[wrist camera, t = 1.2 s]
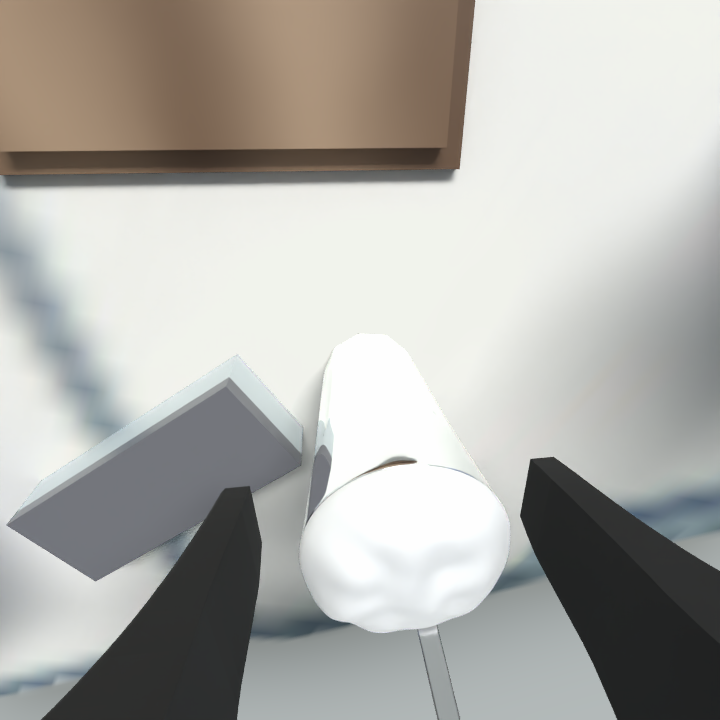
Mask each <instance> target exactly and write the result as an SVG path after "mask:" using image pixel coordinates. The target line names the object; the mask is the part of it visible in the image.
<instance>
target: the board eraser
mask: <svg viewBox="0 0 720 720" xmlns="http://www.w3.org/2000/svg"><path fill="white" fill-rule="evenodd" d="M302 435H303V427H302V425H301V424H300V423H299V422H298V421H297V420H296V419H295V418H294V416H293V415H292V414H291V413H290V412H289V411H288V410H287V409H286V408H285V406H284V405H283V404H282V403H281V402H280V401H279V400H278V399H277V397H276V396H275V395H274V394H273V393H272V392H271V391H270V390H269V389H268V387H267V386H266V385H265V384H264V383H263V382H262V381H261V380H260V378H259V377H258V376H257V375H256V374H255V373H254V372H253V371H252V370H251V368H250V367H249V366H248V365H247V364H246V363H245V362H244V361H243V359H242V358H241V357H240V356H239V355H238V354H237V355H235V356H233V357H232V358H230V359H229V360H227V361H226V362H224V363H223V364H221V365H219V366H218V367H216V368H215V369H213V370H212V371H210V372H209V373H207V374H206V375H204V376H202V377H201V378H199V379H198V380H196V381H195V382H193V383H192V384H190V385H189V386H187V387H185V388H184V389H182V390H181V391H179V392H178V393H176V394H175V395H173V396H171V397H170V398H168V399H167V400H165V401H164V402H162V403H161V404H159V405H158V406H156V407H154V408H153V409H151V410H150V411H148V412H147V413H145V414H144V415H142V416H141V417H139V418H137V419H136V420H134V421H133V422H131V423H130V424H128V425H127V426H125V427H123V428H122V429H120V430H119V431H117V432H116V433H114V434H113V435H111V436H110V437H108V438H106V439H105V440H103V441H102V442H100V443H99V444H97V445H96V446H94V447H93V448H91V449H89V450H88V451H86V452H85V453H83V454H82V455H80V456H79V457H77V458H76V459H74V460H72V461H71V462H69V463H68V464H66V465H65V466H63V467H62V468H60V469H58V470H57V471H55V472H54V473H52V474H51V475H49V476H48V477H46V478H45V479H43V480H41V482H40V483H39V484H38V486H37V487H36V488H35V489H34V491H33V492H32V493H31V494H30V496H29V497H28V498H27V500H26V501H25V502H24V503H23V505H22V506H21V507H20V508H19V510H18V511H17V512H16V514H15V515H14V516H13V517H12V519H11V520H10V521H9V522H8V524H7V526H8V527H10V528H12V529H13V530H15V531H16V532H18V533H20V534H21V535H23V536H24V537H26V538H28V539H29V540H31V541H32V542H34V543H35V544H37V545H39V546H40V547H42V548H43V549H45V550H47V551H48V552H50V553H51V554H53V555H54V556H56V557H58V558H59V559H61V560H62V561H64V562H66V563H67V564H69V565H70V566H72V567H74V568H75V569H77V570H78V571H80V572H81V573H83V574H85V575H86V576H88V577H89V578H91V579H93V580H94V581H97V580H99V579H101V578H103V577H104V576H106V575H108V574H110V573H111V572H113V571H115V570H117V569H119V568H120V567H122V566H124V565H126V564H127V563H129V562H131V561H133V560H134V559H136V558H138V557H140V556H141V555H143V554H145V553H147V552H149V551H150V550H152V549H154V548H156V547H157V546H159V545H161V544H163V543H164V542H166V541H168V540H170V539H172V538H173V537H175V536H177V535H179V534H180V533H182V532H184V531H186V530H187V529H189V528H191V527H193V526H195V525H196V524H198V523H200V522H202V521H203V520H205V518H206V517H207V515H208V514H209V512H210V510H211V509H212V507H213V505H214V504H215V502H216V500H217V499H218V497H219V495H220V494H221V492H222V491H223V490H224V489H225V488H233V487H244V486H250V489H251V493H253V492H255V491H256V490H258V489H260V488H262V487H263V486H265V485H267V484H269V483H270V482H272V481H274V480H276V479H278V478H279V477H281V476H283V475H285V474H286V473H288V472H290V471H292V470H293V469H295V468H297V467H299V466H301V456H302Z"/></svg>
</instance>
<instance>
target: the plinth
mask: <svg viewBox="0 0 720 720" xmlns="http://www.w3.org/2000/svg"><path fill="white" fill-rule="evenodd" d="M474 7H475V0H0V175H34V174H111V173H189V172H266V171H344V170H421V169H460V158H461V147H462V137H463V126H464V115H465V104H466V93H467V83H468V72H469V61H470V50H471V40H472V29H473V18H474Z"/></svg>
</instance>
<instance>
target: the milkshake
mask: <svg viewBox="0 0 720 720" xmlns="http://www.w3.org/2000/svg"><path fill="white" fill-rule="evenodd" d="M509 550H510V522H509V518H508V515H507V512H506V510H505V508H504V506H503V504H502V503H501V501H500V500H499V499H498V497H497V496H496V495H495V493H494V492H493V490H492V488H491V487H490V485H489V484H488V482H487V481H486V479H485V478H484V476H483V475H482V473H481V472H480V470H479V468H478V467H477V465H476V464H475V462H474V461H473V459H472V458H471V456H470V455H469V453H468V452H467V450H466V448H465V447H464V445H463V444H462V442H461V441H460V439H459V438H458V436H457V435H456V433H455V431H454V430H453V428H452V426H451V425H450V423H449V421H448V420H447V418H446V416H445V414H444V413H443V411H442V409H441V408H440V406H439V404H438V403H437V401H436V399H435V397H434V396H433V394H432V392H431V391H430V389H429V387H428V386H427V384H426V382H425V381H424V379H423V377H422V376H421V374H420V372H419V371H418V369H417V367H416V365H415V364H414V362H413V360H412V359H411V357H410V355H409V354H408V352H407V351H406V350H405V349H404V348H403V347H401V346H400V345H399V344H397V343H396V342H395V341H393V340H392V339H391V338H390V337H388V336H387V335H384V334H359V333H358V334H356V335H355V336H353V337H351V338H350V339H348V340H346V341H345V342H343V343H341V344H340V345H338V346H336V347H335V348H334V350H333V352H332V354H331V357H330V359H329V361H328V364H327V366H326V368H325V371H324V377H323V385H322V393H321V402H320V411H319V419H318V428H317V437H316V446H315V455H314V463H313V469H312V475H311V482H310V488H309V494H308V501H307V507H306V513H305V519H304V526H303V532H302V537H301V541H300V546H299V564H300V568H301V572H302V575H303V577H304V580H305V582H306V585H307V587H308V589H309V591H310V593H311V595H312V597H313V599H314V601H315V602H316V604H317V605H318V606H319V608H320V609H321V610H322V611H323V612H324V613H325V614H326V615H327V616H329V617H330V618H331V619H334V620H337V621H341V622H349V623H352V624H355V625H357V626H359V627H361V628H363V629H365V630H367V631H370V632H374V633H389V632H394V631H398V630H407V629H417V630H418V635H419V639H420V643H421V648H422V652H423V657H424V661H425V666H426V670H427V675H428V680H429V684H430V688H431V693H432V697H433V702H434V706H435V711H436V715H437V719H438V720H460V716H459V712H458V708H457V704H456V700H455V696H454V692H453V688H452V683H451V679H450V675H449V671H448V667H447V664H446V659H445V655H444V651H443V647H442V643H441V639H440V635H439V632H438V627H437V624H440V623H442V622H444V621H447V620H449V619H453V618H456V617H459V616H462V615H464V614H467V613H469V612H471V611H472V610H473V609H475V608H476V607H477V606H478V605H479V604H480V603H481V602H482V601H483V600H484V599H485V597H486V596H487V595H488V594H489V593H490V591H491V590H492V589H493V587H494V586H495V584H496V582H497V581H498V579H499V577H500V575H501V573H502V571H503V569H504V567H505V565H506V562H507V559H508V556H509Z"/></svg>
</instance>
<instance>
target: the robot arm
mask: <svg viewBox="0 0 720 720" xmlns="http://www.w3.org/2000/svg"><path fill="white" fill-rule="evenodd" d="M520 517H521V520H522V522H523V525H524V528H525V530H526V533H527V536H528V538H529V540H530V543H531V545H532V548H533V550H534V553H535V555H536V557H537V559H538V561H539V563H540V565H541V566H542V568H543V570H544V572H545V574H546V576H547V578H548V580H549V581H550V583H551V585H552V587H553V589H554V591H555V592H556V594H557V596H558V598H559V600H560V602H561V603H562V605H563V607H564V609H565V611H566V613H567V615H568V616H569V618H570V620H571V622H572V624H573V626H574V627H575V629H576V631H577V633H578V635H579V637H580V639H581V640H582V642H583V644H584V646H585V648H586V650H587V652H588V654H589V656H590V658H591V660H592V662H593V664H594V667H595V669H596V671H597V673H598V676H599V678H600V680H601V683H602V685H603V687H604V690H605V692H606V694H607V697H608V699H609V701H610V703H611V706H612V708H613V710H614V713H615V715H616V718H617V720H720V571H719V570H717V569H715V568H713V567H712V566H710V565H708V564H707V563H705V562H703V561H702V560H700V559H698V558H697V557H695V556H694V555H692V554H690V553H689V552H687V551H685V550H684V549H682V548H681V547H679V546H678V545H676V544H675V543H673V542H672V541H670V540H669V539H667V538H666V537H664V536H663V535H661V534H659V533H658V532H656V531H655V530H653V529H652V528H650V527H649V526H648V525H646V524H645V523H643V522H642V521H640V520H639V519H637V518H636V517H635V516H633V515H632V514H630V513H629V512H628V511H626V510H625V509H623V508H622V507H621V506H619V505H618V504H616V503H615V502H614V501H612V500H611V499H610V498H608V497H607V496H606V495H604V494H603V493H601V492H600V491H599V490H597V489H596V488H595V487H593V486H592V485H591V484H589V483H588V482H587V481H585V480H584V479H583V478H581V477H580V476H579V475H577V474H576V473H575V472H573V471H572V470H571V469H569V468H568V467H567V466H565V465H564V464H563V463H561V462H560V461H558V460H557V459H556V458H554V457H548V458H537V459H530V465H529V470H528V476H527V481H526V487H525V492H524V498H523V503H522V509H521V514H520ZM261 549H262V541H261V536H260V532H259V527H258V522H257V517H256V513H255V508H254V503H253V499H252V494H251V489H250V486H244V487H233V488H225V489H224V490H223V491H222V492H221V494H220V495H219V497H218V499H217V500H216V502H215V504H214V505H213V507H212V509H211V510H210V512H209V514H208V515H207V517H206V518H205V520H204V522H203V523H202V525H201V526H200V528H199V530H198V531H197V533H196V534H195V536H194V537H193V539H192V540H191V542H190V543H189V545H188V546H187V548H186V549H185V551H184V552H183V553H182V555H181V556H180V558H179V559H178V561H177V562H176V564H175V565H174V567H173V568H172V569H171V571H170V572H169V574H168V575H167V576H166V578H165V579H164V580H163V582H162V583H161V584H160V586H159V587H158V588H157V590H156V591H155V592H154V594H153V595H152V596H151V598H150V599H149V600H148V602H147V603H146V604H145V605H144V607H143V608H142V609H141V610H140V612H139V613H138V614H137V615H136V617H135V618H134V619H133V620H132V622H131V623H130V624H129V625H128V626H127V628H126V629H125V630H124V631H123V632H122V634H121V635H120V636H119V637H118V638H117V639H116V641H115V642H114V643H113V644H112V645H111V646H110V648H109V649H108V650H107V651H106V652H105V653H104V654H103V655H102V656H101V658H100V659H99V660H98V661H97V662H96V663H95V664H94V665H93V666H92V667H91V668H90V670H89V671H88V672H87V673H86V674H85V675H84V676H83V677H82V678H81V679H80V680H79V682H78V683H77V684H76V685H75V686H74V687H73V688H72V689H71V690H70V691H69V692H68V693H67V694H66V695H65V696H64V697H63V698H62V699H61V700H60V701H59V702H58V703H57V704H56V706H55V707H54V708H53V709H51V711H50V712H48V713H47V714H46V716H44V717H43V718H42V719H41V720H237V714H238V705H239V698H240V690H241V684H242V678H243V673H244V666H245V661H246V655H247V650H248V645H249V639H250V633H251V628H252V622H253V617H254V611H255V605H256V599H257V594H258V588H259V578H260V565H261Z"/></svg>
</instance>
